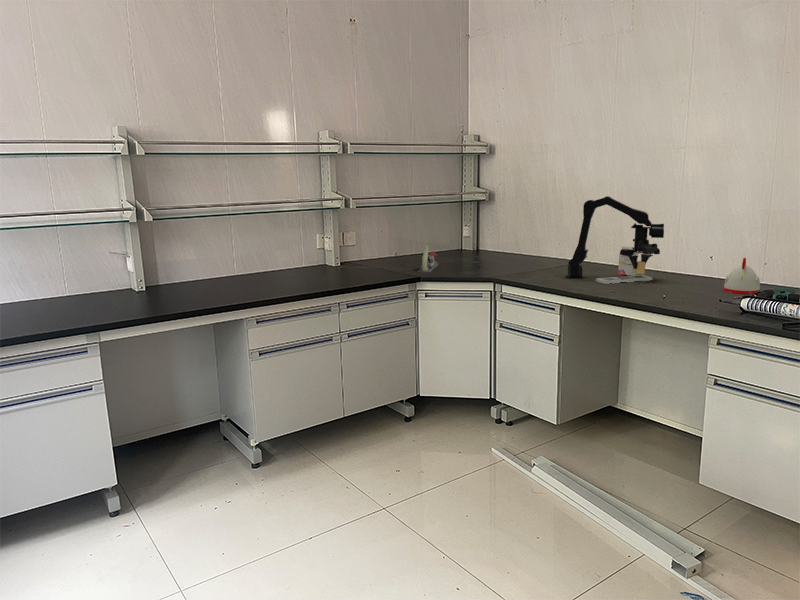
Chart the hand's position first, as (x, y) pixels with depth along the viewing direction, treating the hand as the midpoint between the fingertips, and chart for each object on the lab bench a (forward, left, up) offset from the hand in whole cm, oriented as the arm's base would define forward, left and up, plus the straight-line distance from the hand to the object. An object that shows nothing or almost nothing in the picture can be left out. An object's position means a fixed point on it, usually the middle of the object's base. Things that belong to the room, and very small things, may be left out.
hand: (638, 268), depth 293 cm
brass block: (0, 0, -2) cm, 2 cm away
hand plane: (-88, +74, -6) cm, 115 cm away
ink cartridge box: (+3, +14, -6) cm, 15 cm away
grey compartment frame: (-8, 0, -6) cm, 10 cm away
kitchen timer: (+25, -39, -6) cm, 47 cm away
